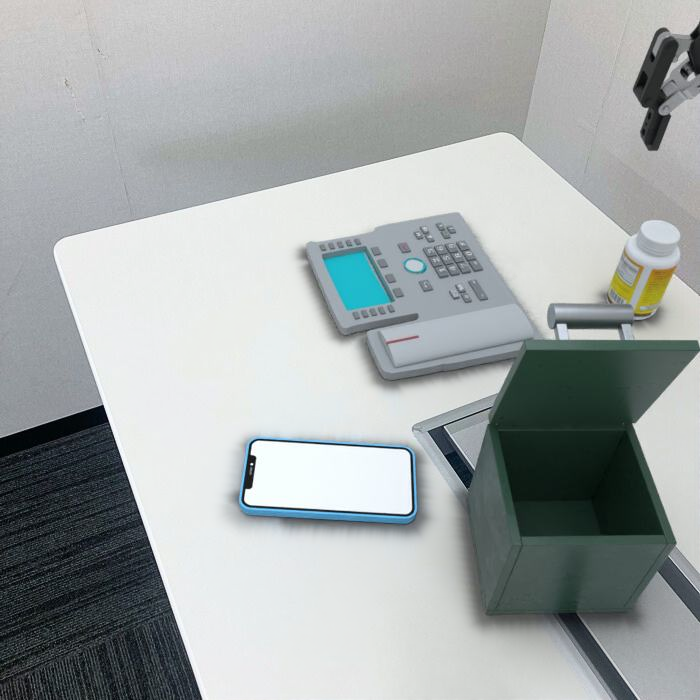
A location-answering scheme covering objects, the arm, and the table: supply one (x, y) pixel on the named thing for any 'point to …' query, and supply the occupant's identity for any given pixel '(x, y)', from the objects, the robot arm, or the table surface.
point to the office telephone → (421, 296)
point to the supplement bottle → (645, 268)
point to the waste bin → (565, 519)
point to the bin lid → (589, 371)
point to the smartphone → (329, 480)
